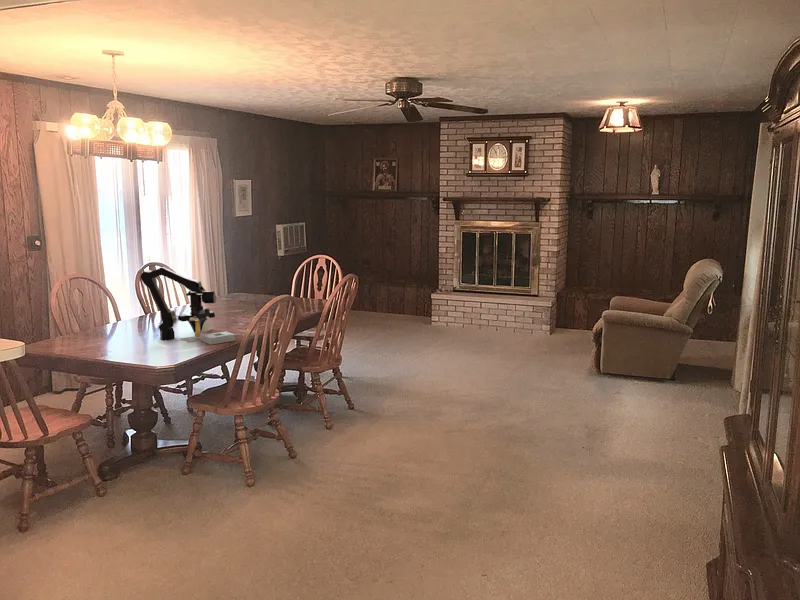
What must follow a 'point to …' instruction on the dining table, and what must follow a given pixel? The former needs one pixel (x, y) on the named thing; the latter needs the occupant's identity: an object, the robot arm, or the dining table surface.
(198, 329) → the peg
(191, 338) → the mat
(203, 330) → the small box
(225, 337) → the socket block
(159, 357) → the dining table surface
